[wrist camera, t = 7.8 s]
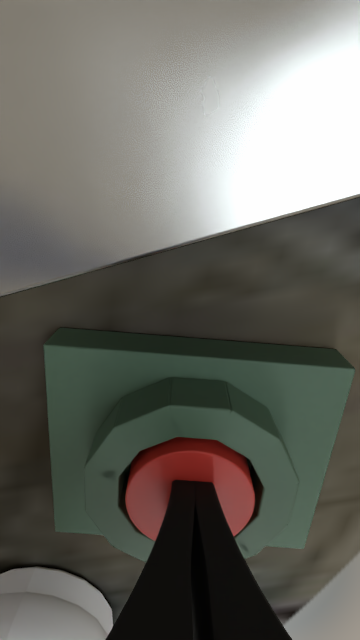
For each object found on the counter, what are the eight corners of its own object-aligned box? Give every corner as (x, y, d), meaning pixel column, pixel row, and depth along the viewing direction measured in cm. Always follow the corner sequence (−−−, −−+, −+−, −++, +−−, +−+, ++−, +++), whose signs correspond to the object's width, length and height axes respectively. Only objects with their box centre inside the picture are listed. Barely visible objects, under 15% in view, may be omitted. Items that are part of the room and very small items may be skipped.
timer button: (130, 504, 14) (123, 545, 12) (134, 413, 12) (126, 446, 11) (238, 511, 14) (245, 554, 12) (254, 422, 13) (265, 456, 11)
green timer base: (67, 499, 17) (37, 575, 13) (59, 326, 14) (18, 369, 10) (293, 515, 17) (319, 594, 14) (336, 348, 14) (384, 397, 10)
